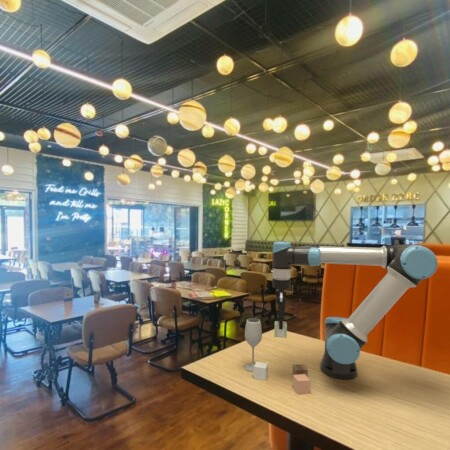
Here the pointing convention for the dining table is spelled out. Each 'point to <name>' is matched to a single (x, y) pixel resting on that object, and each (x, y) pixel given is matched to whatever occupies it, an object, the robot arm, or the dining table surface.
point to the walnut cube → (299, 369)
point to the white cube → (260, 371)
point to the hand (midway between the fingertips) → (280, 334)
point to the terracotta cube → (301, 384)
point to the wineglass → (252, 337)
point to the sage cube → (277, 328)
